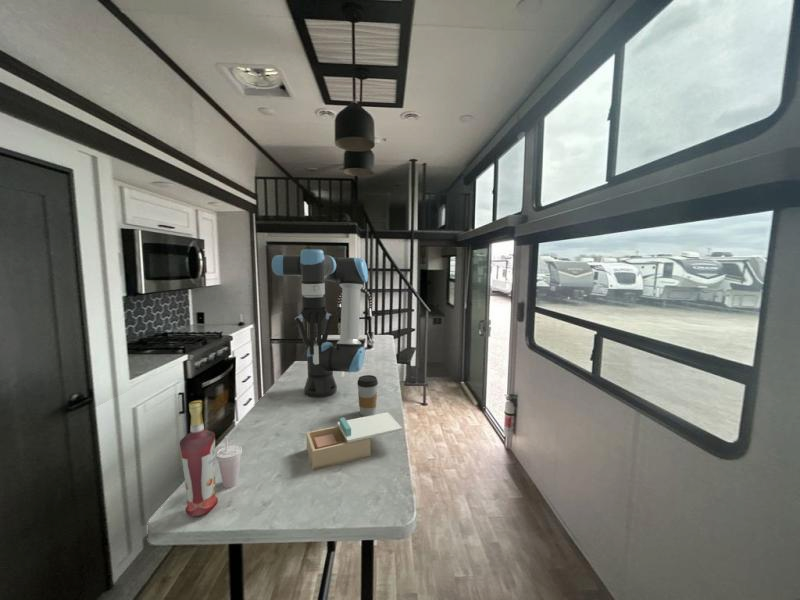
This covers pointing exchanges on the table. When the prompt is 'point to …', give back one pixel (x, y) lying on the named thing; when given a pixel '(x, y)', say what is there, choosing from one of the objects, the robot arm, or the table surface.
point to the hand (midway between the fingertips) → (315, 363)
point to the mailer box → (334, 448)
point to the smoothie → (229, 464)
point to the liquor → (199, 464)
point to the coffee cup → (367, 394)
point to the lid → (368, 426)
